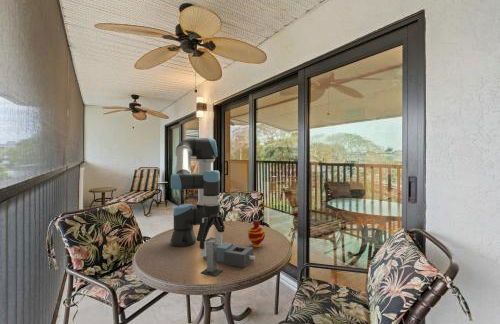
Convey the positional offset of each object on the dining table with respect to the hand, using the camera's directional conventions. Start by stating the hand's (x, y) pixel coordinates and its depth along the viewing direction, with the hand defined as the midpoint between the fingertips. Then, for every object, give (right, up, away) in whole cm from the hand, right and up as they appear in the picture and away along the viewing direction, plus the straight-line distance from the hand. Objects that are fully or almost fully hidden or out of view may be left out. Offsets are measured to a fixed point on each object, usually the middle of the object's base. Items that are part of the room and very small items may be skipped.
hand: (211, 250), depth 117 cm
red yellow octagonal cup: (+22, -10, +36) cm, 43 cm away
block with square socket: (+7, -10, +15) cm, 19 cm away
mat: (0, -10, 0) cm, 10 cm away
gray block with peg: (0, -10, 0) cm, 10 cm away
